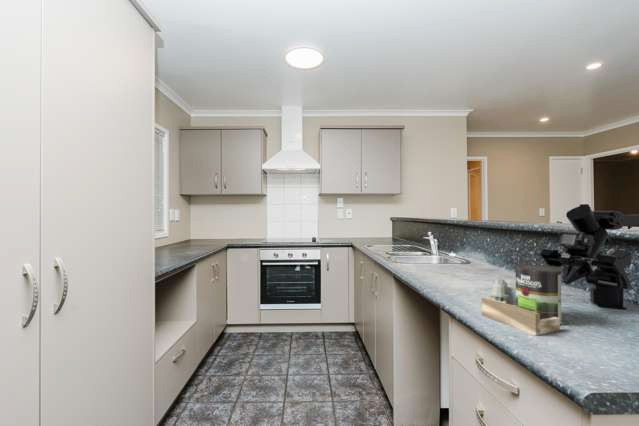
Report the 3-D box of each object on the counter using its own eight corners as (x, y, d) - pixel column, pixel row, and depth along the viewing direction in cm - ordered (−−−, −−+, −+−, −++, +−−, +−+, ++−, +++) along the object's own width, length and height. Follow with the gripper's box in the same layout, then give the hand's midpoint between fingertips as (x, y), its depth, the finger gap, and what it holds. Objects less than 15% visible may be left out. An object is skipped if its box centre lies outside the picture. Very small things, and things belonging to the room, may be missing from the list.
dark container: (545, 328, 74) (545, 272, 74) (506, 315, 84) (506, 265, 84) (571, 322, 78) (571, 269, 78) (531, 310, 88) (531, 263, 88)
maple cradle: (503, 311, 87) (503, 294, 87) (559, 330, 73) (559, 310, 73) (481, 315, 84) (481, 297, 84) (535, 335, 70) (535, 314, 70)
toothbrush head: (508, 278, 113) (508, 282, 92) (508, 296, 112) (508, 304, 92) (492, 277, 116) (489, 280, 95) (492, 294, 115) (489, 302, 94)
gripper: (543, 223, 95) (519, 259, 92) (617, 225, 78) (591, 270, 74) (559, 247, 98) (537, 282, 94) (635, 254, 81) (611, 298, 77)
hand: (565, 283), depth 85 cm, fingers closed
